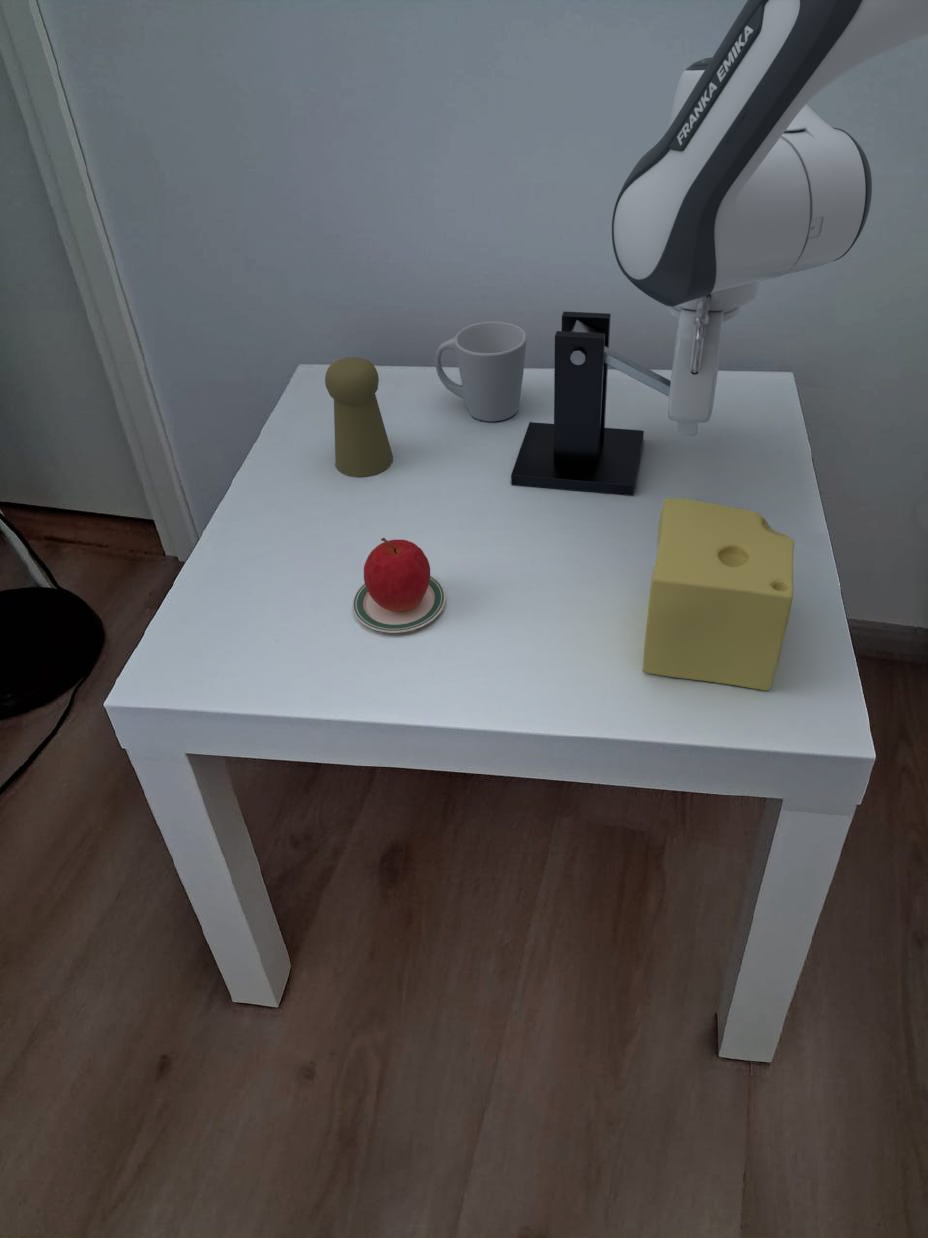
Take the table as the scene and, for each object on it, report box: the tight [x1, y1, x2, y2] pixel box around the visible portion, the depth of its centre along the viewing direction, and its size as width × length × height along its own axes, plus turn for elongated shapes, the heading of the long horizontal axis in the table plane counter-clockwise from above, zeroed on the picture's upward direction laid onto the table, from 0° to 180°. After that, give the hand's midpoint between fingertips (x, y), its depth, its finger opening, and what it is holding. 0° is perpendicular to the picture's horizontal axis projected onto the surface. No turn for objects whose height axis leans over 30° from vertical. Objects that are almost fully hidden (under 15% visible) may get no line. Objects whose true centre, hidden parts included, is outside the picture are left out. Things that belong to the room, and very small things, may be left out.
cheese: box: [642, 497, 795, 691], centre depth 72 cm, size 10×11×10 cm
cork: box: [324, 356, 394, 478], centre depth 94 cm, size 6×6×11 cm
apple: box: [352, 537, 447, 634], centre depth 78 cm, size 8×8×6 cm
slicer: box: [510, 310, 645, 497], centre depth 90 cm, size 12×10×15 cm
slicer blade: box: [570, 320, 671, 397], centre depth 87 cm, size 14×5×2 cm, turn 76°
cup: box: [434, 321, 528, 423], centre depth 101 cm, size 8×10×8 cm
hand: (689, 413), depth 89 cm, fingers closed on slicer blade, 5 cm apart
